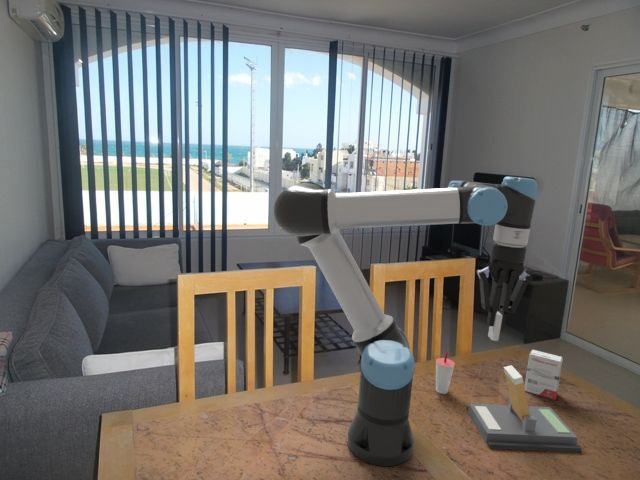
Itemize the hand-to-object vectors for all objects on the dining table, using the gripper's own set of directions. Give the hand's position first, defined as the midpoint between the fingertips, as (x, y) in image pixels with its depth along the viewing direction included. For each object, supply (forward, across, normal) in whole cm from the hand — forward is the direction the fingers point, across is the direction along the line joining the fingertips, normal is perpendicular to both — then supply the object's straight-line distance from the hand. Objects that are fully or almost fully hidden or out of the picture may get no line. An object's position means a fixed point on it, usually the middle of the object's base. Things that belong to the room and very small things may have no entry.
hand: (492, 338), depth 112 cm
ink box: (+24, +26, +19) cm, 40 cm away
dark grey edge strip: (+24, +11, -8) cm, 27 cm away
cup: (+24, -4, +17) cm, 30 cm away
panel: (+24, +11, 0) cm, 26 cm away
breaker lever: (+20, +10, 0) cm, 22 cm away
